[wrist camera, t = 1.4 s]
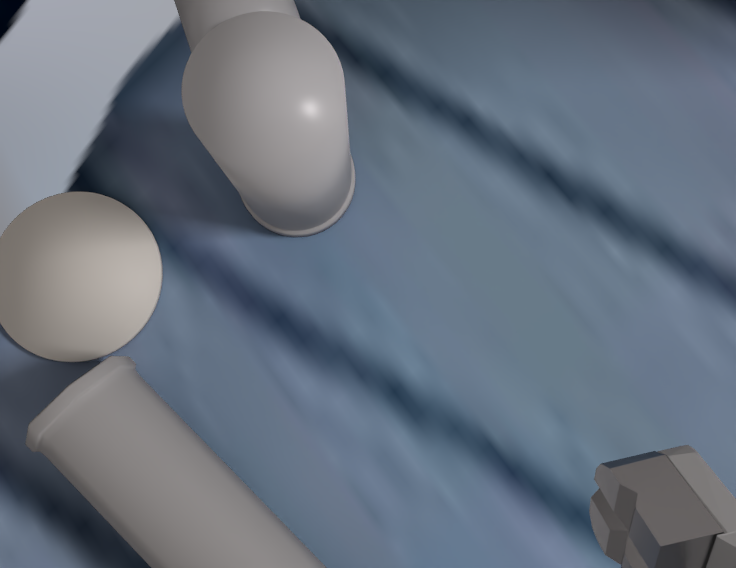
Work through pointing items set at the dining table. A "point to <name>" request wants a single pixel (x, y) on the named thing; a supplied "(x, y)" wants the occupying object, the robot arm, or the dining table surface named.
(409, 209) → the dining table surface
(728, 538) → the robot arm
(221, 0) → the elbow
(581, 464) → the dining table surface
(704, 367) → the dining table surface
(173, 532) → the tube
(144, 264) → the flange
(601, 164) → the dining table surface
